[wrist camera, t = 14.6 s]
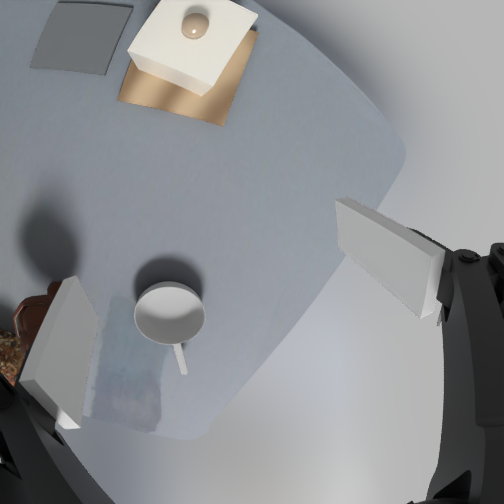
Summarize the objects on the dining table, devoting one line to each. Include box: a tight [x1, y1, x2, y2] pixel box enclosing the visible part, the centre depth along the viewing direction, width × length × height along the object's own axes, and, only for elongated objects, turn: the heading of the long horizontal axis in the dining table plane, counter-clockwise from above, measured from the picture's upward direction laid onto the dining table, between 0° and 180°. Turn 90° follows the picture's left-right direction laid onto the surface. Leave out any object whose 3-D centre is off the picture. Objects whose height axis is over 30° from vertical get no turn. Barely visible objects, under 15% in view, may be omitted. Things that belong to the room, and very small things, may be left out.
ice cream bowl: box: [12, 282, 62, 355], centre depth 32 cm, size 11×11×15 cm
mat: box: [30, 3, 133, 75], centre depth 24 cm, size 12×10×1 cm
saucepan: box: [134, 281, 206, 375], centre depth 45 cm, size 11×18×4 cm, turn 2°
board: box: [118, 4, 259, 126], centre depth 30 cm, size 14×14×1 cm
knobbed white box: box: [127, 0, 259, 96], centre depth 24 cm, size 9×9×11 cm
